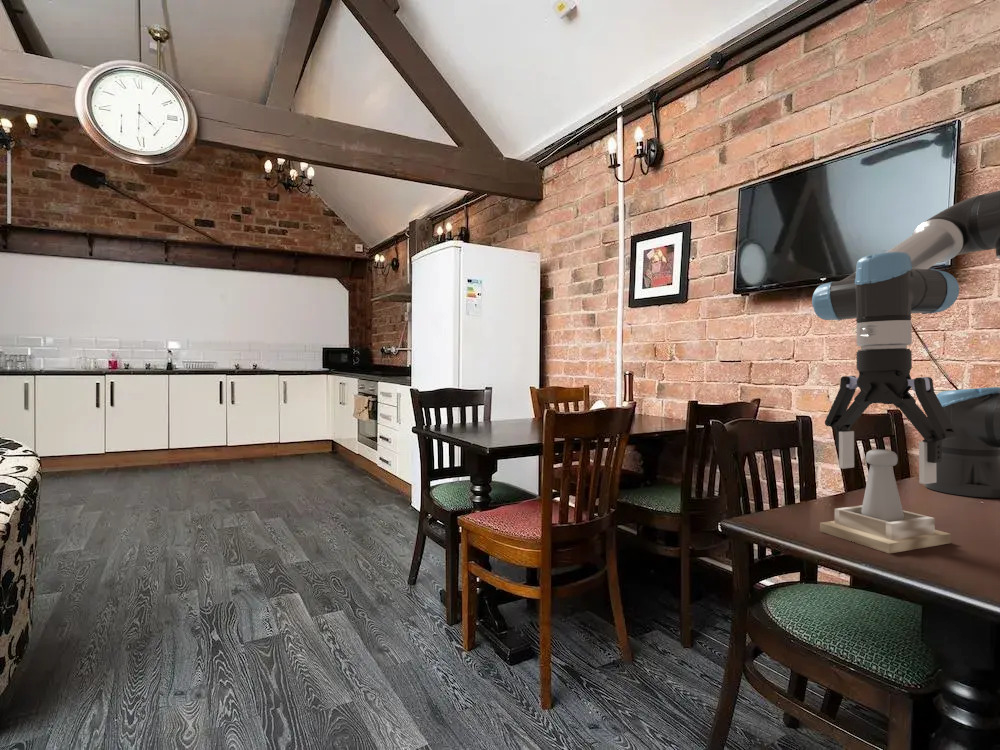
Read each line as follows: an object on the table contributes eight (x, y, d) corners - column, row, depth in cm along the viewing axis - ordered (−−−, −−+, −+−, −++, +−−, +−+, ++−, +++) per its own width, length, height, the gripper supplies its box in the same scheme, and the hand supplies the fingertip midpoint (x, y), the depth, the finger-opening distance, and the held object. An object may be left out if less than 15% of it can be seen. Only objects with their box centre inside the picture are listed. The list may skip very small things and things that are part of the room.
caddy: (877, 523, 99) (877, 501, 99) (950, 543, 88) (951, 518, 88) (819, 531, 94) (819, 508, 94) (888, 553, 83) (888, 527, 83)
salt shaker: (913, 532, 88) (912, 452, 88) (880, 534, 88) (879, 454, 88) (884, 521, 94) (884, 446, 94) (853, 523, 94) (852, 448, 94)
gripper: (802, 350, 101) (803, 464, 102) (951, 345, 78) (952, 493, 78) (832, 349, 104) (833, 460, 104) (985, 344, 80) (986, 488, 80)
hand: (884, 475), depth 91 cm, fingers open, 13 cm apart
